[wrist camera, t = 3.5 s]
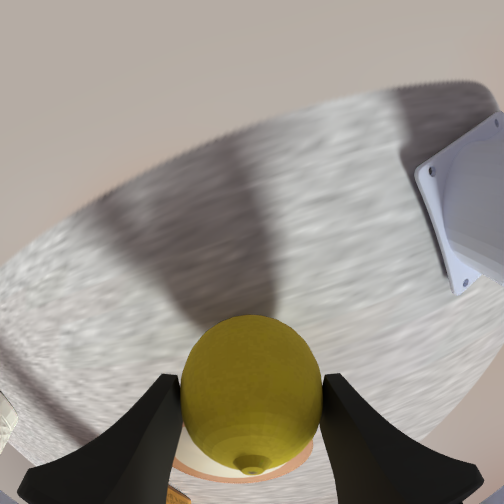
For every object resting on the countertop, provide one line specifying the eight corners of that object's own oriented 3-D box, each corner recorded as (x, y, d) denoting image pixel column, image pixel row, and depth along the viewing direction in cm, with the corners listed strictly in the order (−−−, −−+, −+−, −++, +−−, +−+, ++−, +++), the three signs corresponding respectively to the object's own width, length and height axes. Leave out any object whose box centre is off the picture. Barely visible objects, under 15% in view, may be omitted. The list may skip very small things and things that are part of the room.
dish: (254, 367, 14) (254, 379, 13) (334, 447, 17) (337, 456, 16) (122, 419, 16) (118, 429, 15) (218, 482, 19) (217, 491, 18)
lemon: (178, 340, 14) (135, 466, 6) (239, 263, 13) (227, 394, 5) (259, 385, 15) (265, 506, 7) (325, 323, 14) (379, 449, 6)
